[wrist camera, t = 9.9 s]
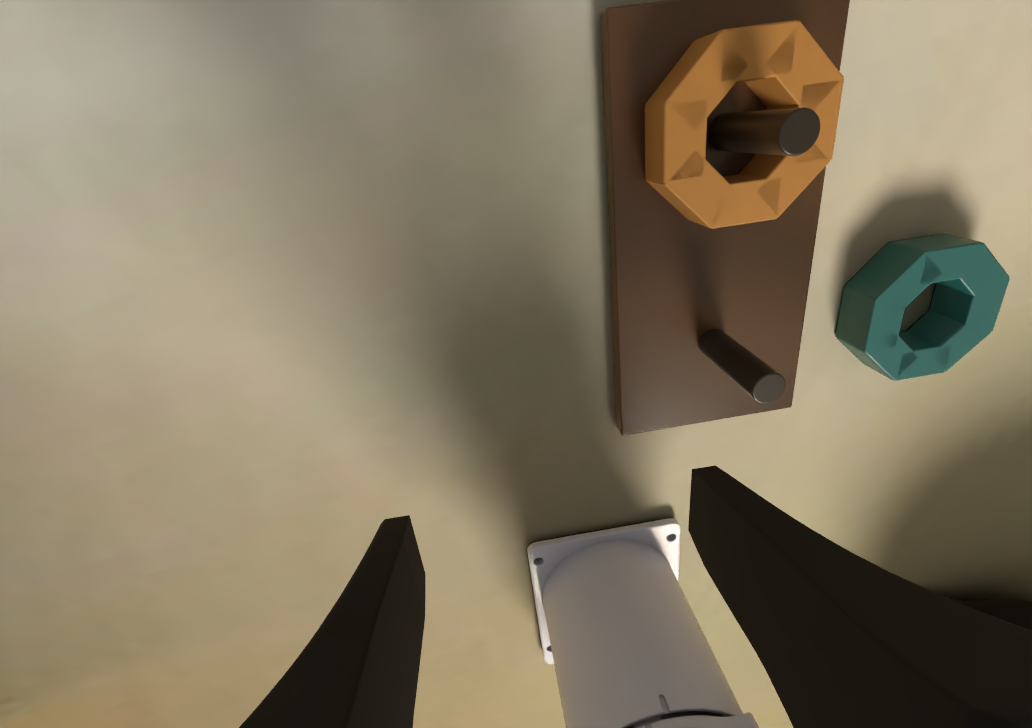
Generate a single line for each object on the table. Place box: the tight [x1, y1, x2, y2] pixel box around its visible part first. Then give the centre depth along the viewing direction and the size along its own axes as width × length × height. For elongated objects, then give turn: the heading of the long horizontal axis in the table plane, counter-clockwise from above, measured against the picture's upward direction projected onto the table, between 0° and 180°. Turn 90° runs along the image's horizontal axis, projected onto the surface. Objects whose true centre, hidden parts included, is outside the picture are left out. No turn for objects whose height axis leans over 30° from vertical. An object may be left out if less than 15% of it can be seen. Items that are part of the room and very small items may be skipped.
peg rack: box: [601, 0, 850, 435], centre depth 17 cm, size 16×8×5 cm, turn 7°
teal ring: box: [836, 234, 1009, 380], centre depth 21 cm, size 6×6×2 cm
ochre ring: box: [645, 20, 844, 229], centre depth 16 cm, size 6×6×2 cm
